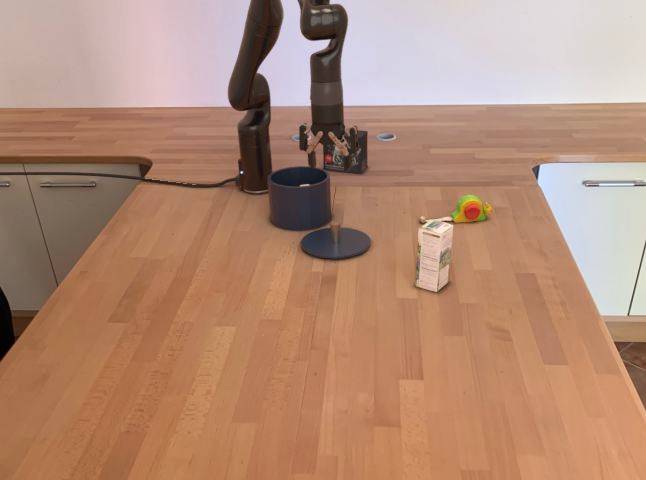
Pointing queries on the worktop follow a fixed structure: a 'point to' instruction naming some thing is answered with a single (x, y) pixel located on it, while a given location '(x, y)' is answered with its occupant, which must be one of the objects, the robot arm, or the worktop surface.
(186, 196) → the worktop surface
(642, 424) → the worktop surface
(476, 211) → the toy measuring tape
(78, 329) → the worktop surface
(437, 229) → the syrup box
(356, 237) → the tin lid
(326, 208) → the tin
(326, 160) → the small box
